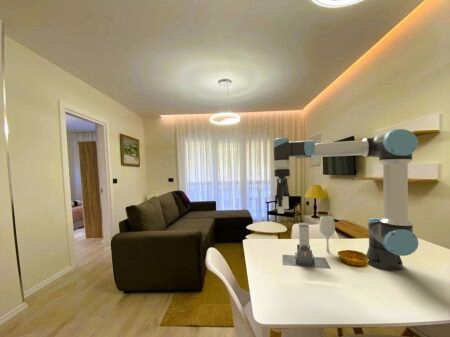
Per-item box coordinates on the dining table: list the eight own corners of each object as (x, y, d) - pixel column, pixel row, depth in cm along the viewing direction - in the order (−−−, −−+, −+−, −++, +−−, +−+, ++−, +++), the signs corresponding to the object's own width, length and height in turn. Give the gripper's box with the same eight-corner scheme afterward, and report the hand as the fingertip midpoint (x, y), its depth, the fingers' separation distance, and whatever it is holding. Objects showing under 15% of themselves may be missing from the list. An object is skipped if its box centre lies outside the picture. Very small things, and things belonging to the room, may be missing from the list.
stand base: (325, 259, 116) (324, 241, 117) (330, 271, 103) (330, 250, 103) (282, 256, 122) (282, 239, 122) (282, 267, 108) (282, 247, 109)
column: (309, 259, 114) (307, 223, 115) (310, 263, 109) (309, 225, 109) (299, 258, 115) (298, 222, 116) (300, 263, 110) (298, 225, 111)
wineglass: (319, 256, 122) (318, 218, 123) (319, 250, 130) (318, 215, 131) (337, 257, 119) (335, 219, 119) (335, 252, 127) (334, 216, 127)
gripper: (279, 169, 124) (281, 207, 123) (268, 168, 101) (270, 215, 100) (293, 168, 120) (294, 207, 120) (284, 168, 98) (286, 215, 97)
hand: (283, 211), depth 110 cm, fingers open, 13 cm apart
